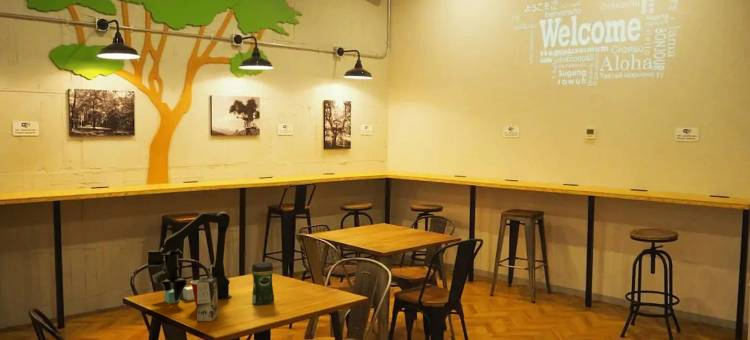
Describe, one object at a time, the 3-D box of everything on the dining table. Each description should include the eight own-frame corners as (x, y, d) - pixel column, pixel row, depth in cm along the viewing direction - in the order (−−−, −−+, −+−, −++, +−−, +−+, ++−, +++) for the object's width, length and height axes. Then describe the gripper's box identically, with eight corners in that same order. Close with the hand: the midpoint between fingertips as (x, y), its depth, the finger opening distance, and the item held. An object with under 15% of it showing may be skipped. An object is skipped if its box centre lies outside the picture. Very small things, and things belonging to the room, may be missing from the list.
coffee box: (212, 321, 278) (212, 282, 277) (197, 321, 278) (196, 282, 277) (218, 315, 287) (217, 277, 286) (203, 315, 287) (202, 277, 286)
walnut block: (187, 296, 318) (187, 286, 318) (177, 298, 315) (177, 287, 315) (182, 294, 322) (182, 284, 322) (172, 296, 319) (172, 285, 319)
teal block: (179, 302, 309) (179, 291, 308) (169, 303, 305) (168, 292, 305) (175, 299, 312) (174, 289, 312) (164, 301, 309) (164, 290, 309)
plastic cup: (220, 305, 302) (220, 279, 301) (207, 312, 291) (206, 284, 291) (199, 303, 305) (199, 277, 304) (185, 309, 295) (185, 282, 294)
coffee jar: (271, 299, 312) (271, 259, 311) (275, 304, 304) (275, 263, 303) (250, 302, 308) (249, 261, 307) (254, 306, 301) (253, 264, 300)
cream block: (198, 298, 314) (197, 288, 314) (187, 300, 311) (187, 289, 311) (193, 296, 318) (193, 286, 318) (183, 298, 315) (183, 287, 315)
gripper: (145, 263, 310) (146, 297, 311) (162, 270, 296) (163, 305, 297) (169, 260, 317) (169, 293, 318) (186, 267, 303) (187, 301, 304)
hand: (172, 298), depth 309 cm, fingers open, 9 cm apart
